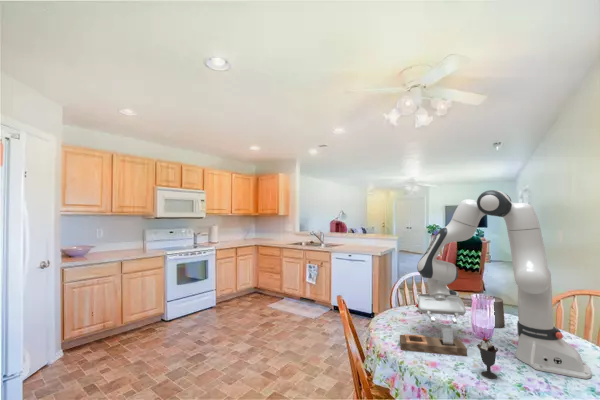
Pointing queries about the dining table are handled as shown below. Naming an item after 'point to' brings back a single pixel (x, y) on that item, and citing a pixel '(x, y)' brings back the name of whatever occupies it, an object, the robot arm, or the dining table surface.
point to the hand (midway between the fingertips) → (443, 322)
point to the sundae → (488, 356)
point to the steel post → (446, 335)
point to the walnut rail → (431, 345)
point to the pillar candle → (499, 312)
